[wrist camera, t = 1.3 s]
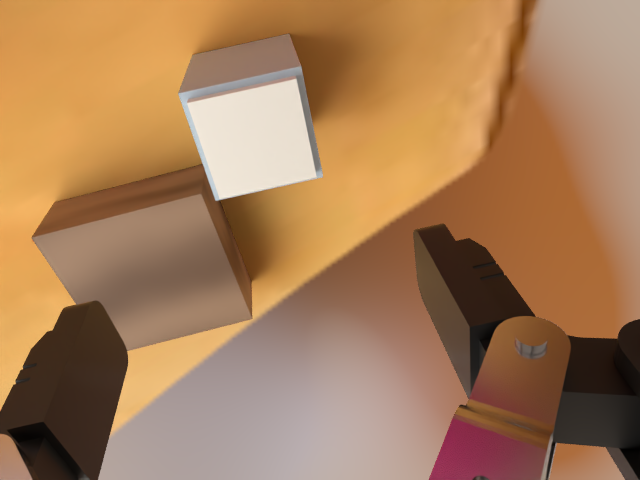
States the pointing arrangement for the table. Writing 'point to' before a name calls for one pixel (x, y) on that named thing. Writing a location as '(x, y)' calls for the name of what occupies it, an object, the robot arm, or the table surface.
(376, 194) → the table surface
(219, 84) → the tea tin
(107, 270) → the walnut block
